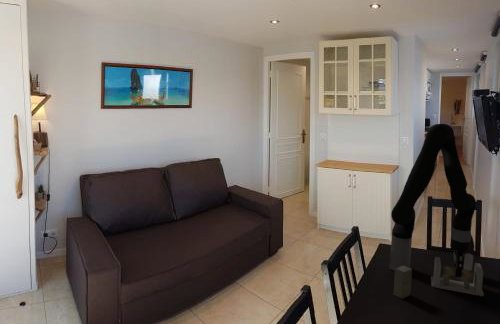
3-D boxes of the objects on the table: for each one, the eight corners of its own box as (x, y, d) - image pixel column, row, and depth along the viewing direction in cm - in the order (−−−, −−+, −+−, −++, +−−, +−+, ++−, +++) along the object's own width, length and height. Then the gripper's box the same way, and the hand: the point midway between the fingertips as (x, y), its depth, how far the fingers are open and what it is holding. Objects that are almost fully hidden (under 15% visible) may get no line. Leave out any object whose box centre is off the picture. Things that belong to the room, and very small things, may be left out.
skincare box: (402, 299, 151) (404, 272, 149) (392, 294, 155) (394, 268, 153) (410, 295, 154) (412, 268, 153) (401, 290, 158) (403, 264, 156)
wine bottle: (466, 270, 178) (472, 212, 173) (475, 278, 170) (481, 217, 165) (449, 269, 179) (455, 211, 174) (457, 277, 171) (463, 216, 166)
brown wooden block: (442, 278, 161) (442, 269, 161) (441, 273, 166) (442, 265, 165) (473, 283, 156) (474, 275, 156) (471, 278, 161) (472, 270, 160)
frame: (431, 286, 162) (433, 263, 160) (430, 278, 170) (432, 256, 168) (483, 296, 153) (486, 272, 152) (480, 287, 162) (482, 264, 160)
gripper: (449, 232, 166) (446, 264, 168) (452, 242, 153) (449, 277, 156) (468, 234, 163) (465, 267, 165) (472, 245, 150) (469, 281, 153)
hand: (457, 272), depth 161 cm, fingers open, 8 cm apart
